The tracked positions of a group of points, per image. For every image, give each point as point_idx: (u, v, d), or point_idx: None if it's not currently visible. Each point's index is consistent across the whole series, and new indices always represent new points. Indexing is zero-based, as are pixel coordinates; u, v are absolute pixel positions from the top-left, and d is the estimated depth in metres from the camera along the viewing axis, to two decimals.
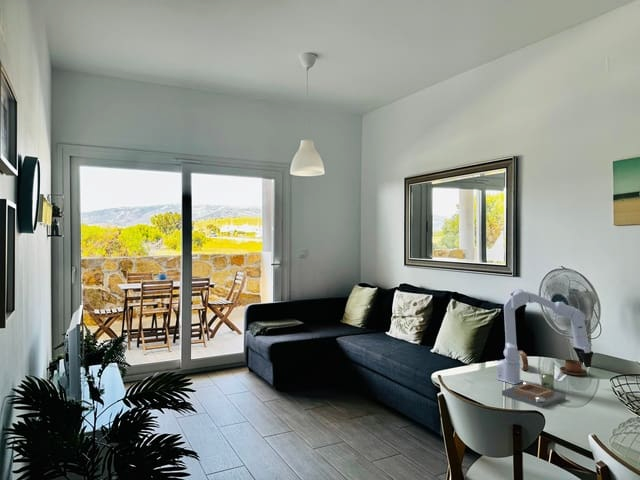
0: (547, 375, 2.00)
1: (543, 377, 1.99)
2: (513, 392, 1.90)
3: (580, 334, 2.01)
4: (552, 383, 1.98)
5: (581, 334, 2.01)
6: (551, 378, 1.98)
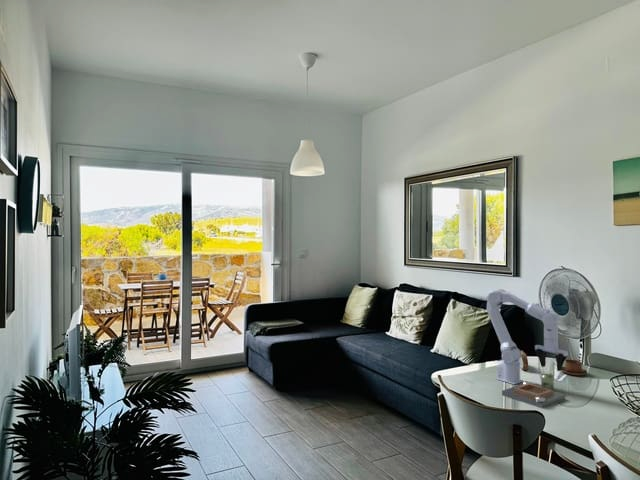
0: (547, 375, 2.00)
1: (543, 377, 1.99)
2: (513, 392, 1.90)
3: (548, 337, 1.98)
4: (552, 383, 1.98)
5: (549, 337, 1.98)
6: (551, 378, 1.98)
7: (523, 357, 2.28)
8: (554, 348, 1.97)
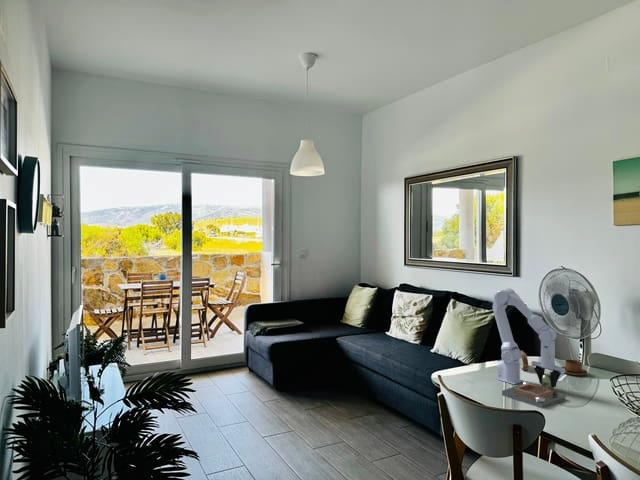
0: (547, 375, 2.00)
1: (543, 377, 1.99)
2: (513, 392, 1.90)
3: (544, 354, 1.99)
4: None
5: (545, 354, 1.98)
6: None
7: (523, 357, 2.28)
8: (551, 365, 1.97)
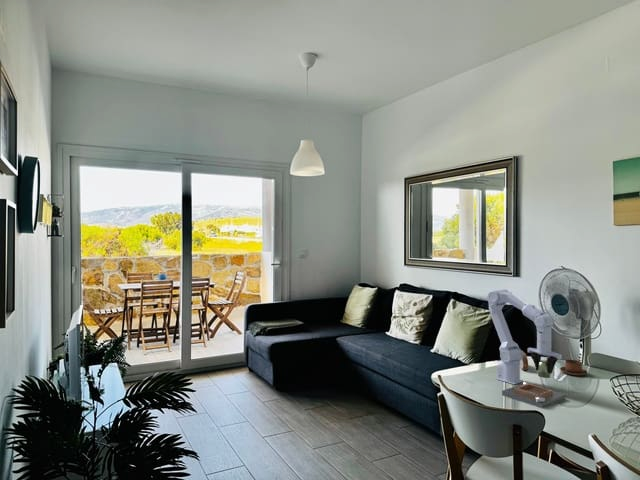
0: (544, 362, 1.97)
1: (540, 364, 1.97)
2: (513, 392, 1.90)
3: (539, 339, 1.96)
4: None
5: (540, 339, 1.96)
6: None
7: (523, 357, 2.28)
8: (548, 351, 1.95)
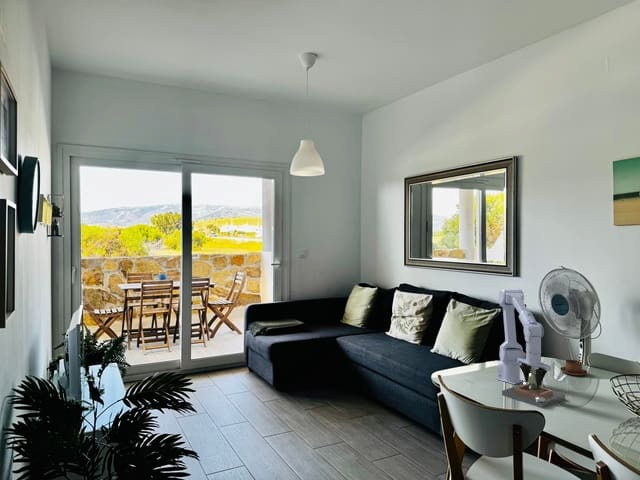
0: (534, 373, 1.90)
1: (529, 375, 1.90)
2: (513, 392, 1.90)
3: (526, 349, 1.91)
4: None
5: (526, 349, 1.90)
6: None
7: None
8: (536, 362, 1.87)
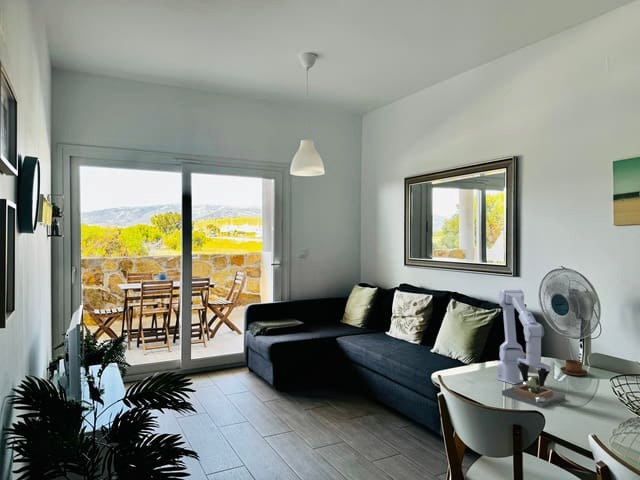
0: (533, 377, 1.90)
1: (529, 379, 1.90)
2: (513, 392, 1.90)
3: (526, 349, 1.91)
4: (538, 386, 1.88)
5: (526, 349, 1.90)
6: (537, 380, 1.88)
7: None
8: (536, 362, 1.87)
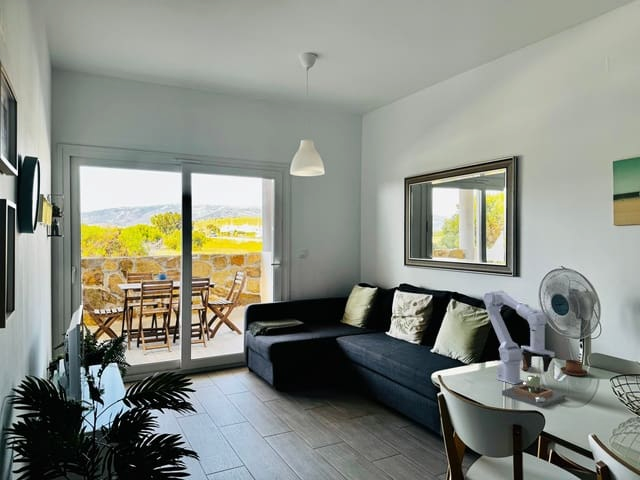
0: (533, 377, 1.90)
1: (529, 379, 1.90)
2: (513, 392, 1.90)
3: (532, 337, 1.98)
4: (538, 385, 1.88)
5: (533, 337, 1.98)
6: (537, 380, 1.88)
7: (523, 357, 2.28)
8: (541, 349, 1.96)
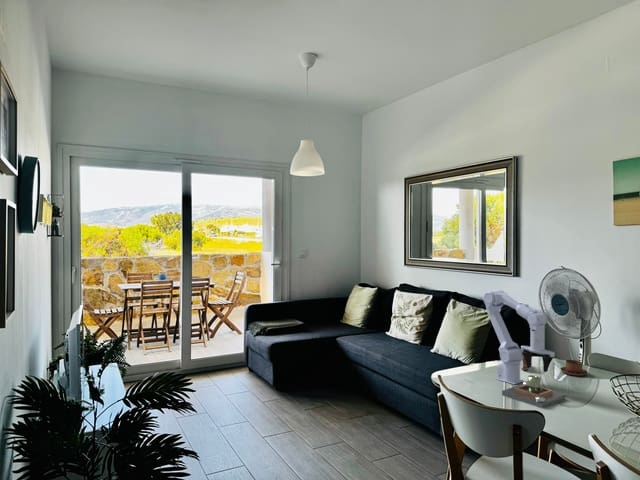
0: (533, 377, 1.90)
1: (529, 379, 1.90)
2: (513, 392, 1.90)
3: (532, 337, 1.98)
4: (538, 386, 1.88)
5: (533, 337, 1.98)
6: (537, 381, 1.88)
7: (523, 357, 2.28)
8: (541, 349, 1.96)
